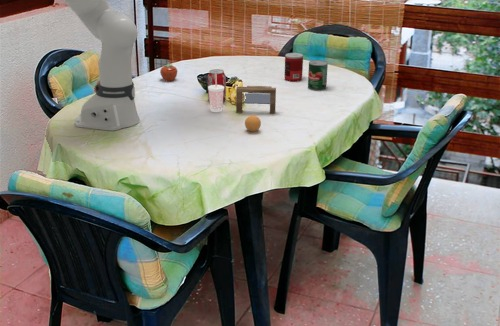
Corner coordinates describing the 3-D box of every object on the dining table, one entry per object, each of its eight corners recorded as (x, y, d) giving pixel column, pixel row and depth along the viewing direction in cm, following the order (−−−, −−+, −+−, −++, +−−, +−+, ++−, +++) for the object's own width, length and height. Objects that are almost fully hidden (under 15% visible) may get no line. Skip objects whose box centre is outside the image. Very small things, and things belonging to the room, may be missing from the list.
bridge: (275, 113, 231) (275, 90, 227) (236, 112, 232) (236, 88, 228) (275, 111, 234) (275, 87, 230) (236, 110, 234) (236, 86, 231)
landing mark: (241, 103, 242) (241, 102, 242) (244, 93, 253) (244, 93, 253) (272, 104, 241) (272, 103, 241) (273, 94, 252) (273, 94, 252)
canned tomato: (326, 85, 265) (327, 60, 260) (326, 91, 257) (328, 65, 253) (307, 85, 265) (309, 59, 261) (307, 90, 258) (308, 64, 254)
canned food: (305, 78, 274) (306, 54, 270) (296, 83, 268) (297, 58, 264) (290, 76, 278) (290, 51, 273) (281, 80, 272) (281, 55, 267)
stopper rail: (246, 92, 255) (246, 86, 254) (247, 91, 256) (247, 85, 255) (271, 93, 254) (271, 87, 253) (271, 92, 255) (271, 86, 254)
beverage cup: (209, 113, 231) (208, 76, 225) (207, 107, 237) (206, 72, 231) (225, 112, 232) (225, 75, 226) (223, 106, 238) (222, 71, 232)
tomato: (164, 83, 266) (163, 65, 263) (158, 79, 272) (157, 61, 268) (180, 81, 269) (179, 63, 266) (173, 77, 275) (173, 59, 272)
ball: (244, 133, 212) (244, 118, 210) (245, 127, 217) (245, 112, 215) (260, 134, 212) (260, 118, 209) (261, 128, 217) (261, 113, 214)
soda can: (223, 104, 241) (223, 74, 236) (206, 103, 242) (205, 73, 237) (227, 98, 247) (227, 69, 242) (210, 97, 248) (210, 68, 243)
